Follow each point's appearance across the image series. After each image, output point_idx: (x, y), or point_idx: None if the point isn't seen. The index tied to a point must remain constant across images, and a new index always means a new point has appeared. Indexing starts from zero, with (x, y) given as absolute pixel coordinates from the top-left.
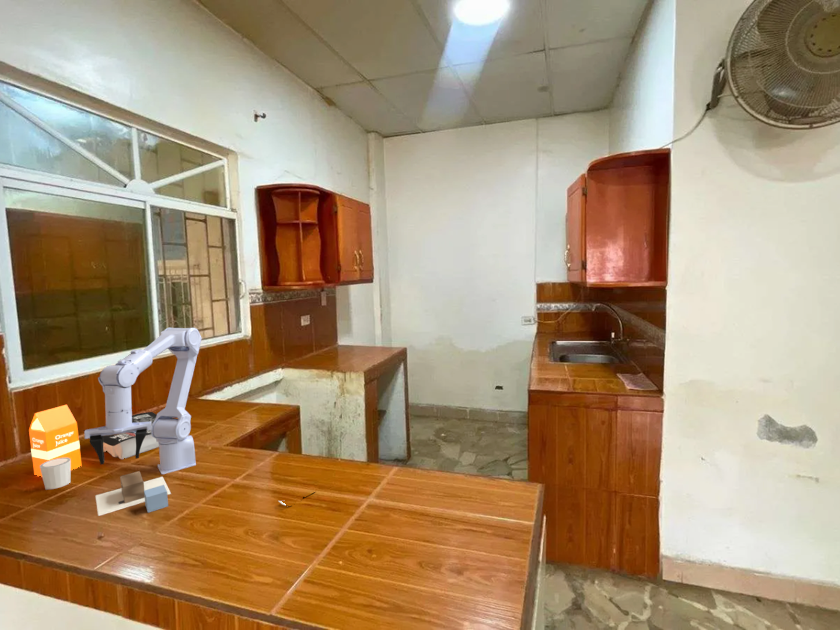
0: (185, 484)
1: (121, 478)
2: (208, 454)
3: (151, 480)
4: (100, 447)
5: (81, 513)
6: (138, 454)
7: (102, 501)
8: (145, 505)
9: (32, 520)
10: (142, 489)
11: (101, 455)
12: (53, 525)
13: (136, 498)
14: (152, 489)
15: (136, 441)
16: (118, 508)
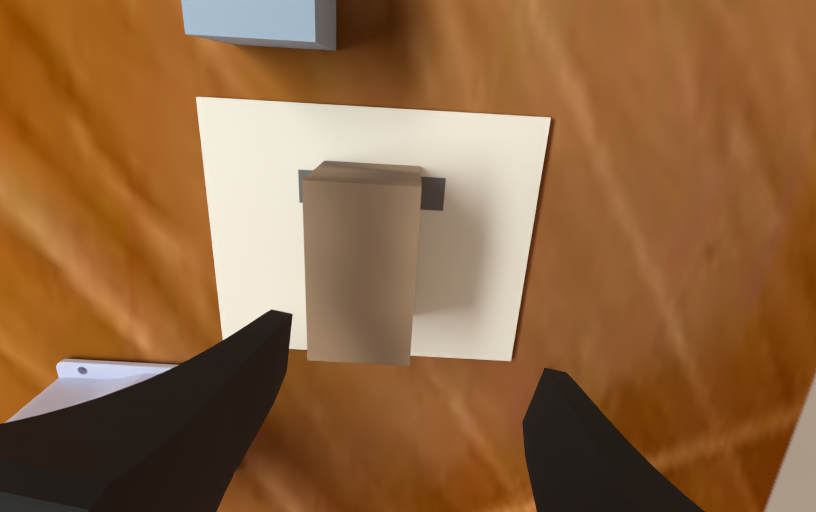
0: (120, 173)
1: (408, 330)
2: None
3: None
4: (645, 509)
5: (595, 227)
6: (252, 323)
7: (500, 275)
8: (334, 44)
9: (753, 314)
10: (323, 170)
11: (589, 425)
12: (714, 194)
13: (364, 163)
14: (262, 11)
15: (181, 419)
16: (456, 128)
